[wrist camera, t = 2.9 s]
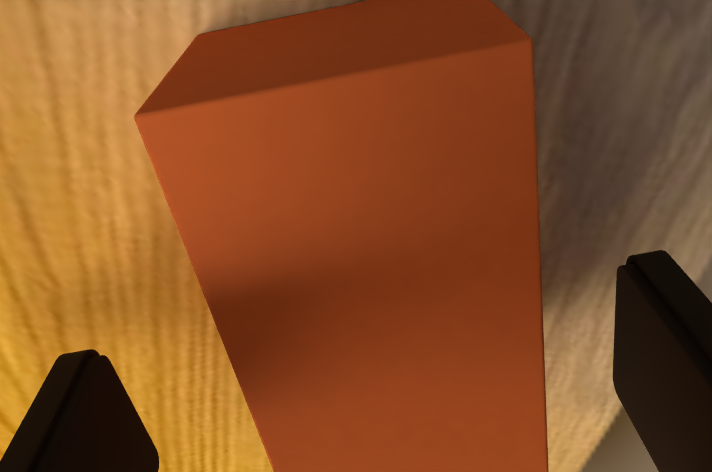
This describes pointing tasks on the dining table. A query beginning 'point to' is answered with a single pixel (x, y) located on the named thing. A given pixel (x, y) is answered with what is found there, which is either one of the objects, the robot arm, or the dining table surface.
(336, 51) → the orange block
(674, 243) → the dining table surface
